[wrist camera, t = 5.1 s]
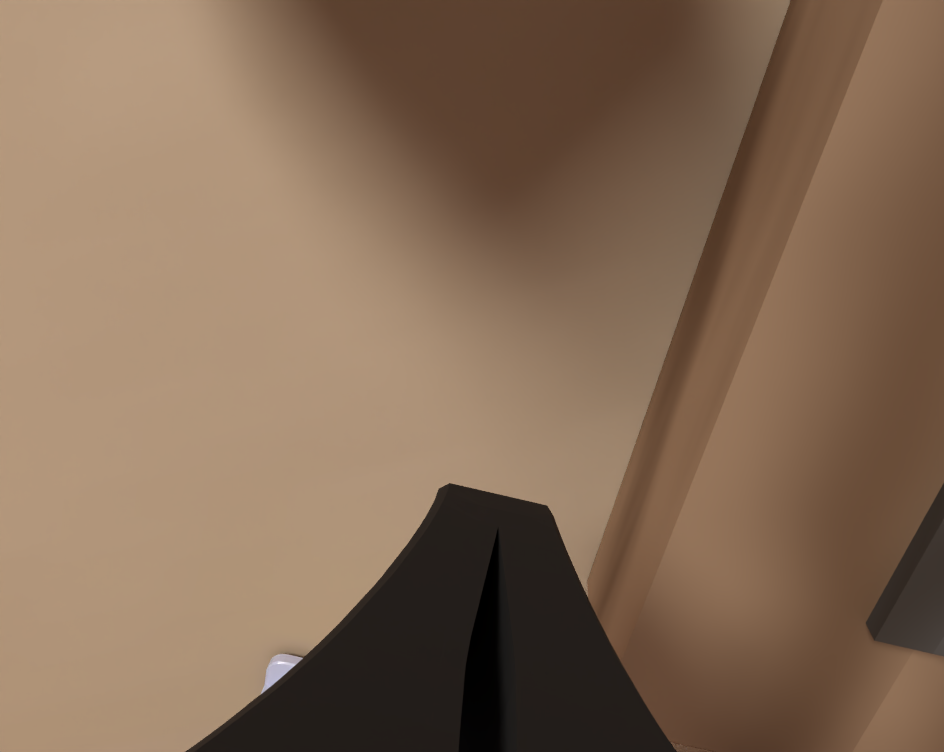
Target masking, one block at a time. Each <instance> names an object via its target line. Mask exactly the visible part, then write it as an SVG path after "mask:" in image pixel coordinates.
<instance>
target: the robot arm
mask: <svg viewBox="0 0 944 752" xmlns="http://www.w3.org/2000/svg"><path fill="white" fill-rule="evenodd" d="M186 752H676V750H675V749H674V747H673V746H672V744H671V743H670V742H669V740H668V739H667V737H666V736H665V734H664V732H663V731H662V729H661V728H660V726H659V725H658V723H657V722H656V720H655V718H654V717H653V715H652V714H651V712H650V710H649V709H648V707H647V706H646V704H645V702H644V701H643V699H642V697H641V696H640V694H639V692H638V691H637V689H636V687H635V685H634V684H633V682H632V680H631V679H630V677H629V675H628V673H627V672H626V670H625V668H624V667H623V665H622V663H621V661H620V659H619V658H618V656H617V654H616V652H615V650H614V648H613V646H612V645H611V643H610V641H609V639H608V637H607V635H606V633H605V631H604V629H603V627H602V625H601V623H600V621H599V619H598V617H597V615H596V613H595V611H594V609H593V607H592V605H591V603H590V601H589V599H588V597H587V595H586V593H585V591H584V589H583V587H582V584H581V582H580V580H579V578H578V575H577V573H576V571H575V569H574V566H573V564H572V562H571V560H570V557H569V555H568V552H567V550H566V548H565V545H564V543H563V540H562V538H561V535H560V533H559V530H558V527H557V525H556V522H555V519H554V516H553V515H552V513H551V511H550V510H549V508H548V506H546V505H542V504H538V503H533V502H529V501H525V500H520V499H516V498H512V497H507V496H503V495H499V494H494V493H490V492H486V491H481V490H477V489H472V488H468V487H464V486H459V485H455V484H451V483H449V484H447V485H445V486H443V487H442V488H440V489H439V490H438V493H437V496H436V498H435V501H434V503H433V505H432V507H431V508H430V510H429V512H428V514H427V516H426V517H425V519H424V520H423V522H422V524H421V525H420V527H419V528H418V530H417V531H416V533H415V534H414V535H413V537H412V538H411V540H410V541H409V543H408V544H407V545H406V547H405V548H404V549H403V550H402V552H401V553H400V554H399V556H398V557H397V558H396V559H395V561H394V562H393V563H392V564H391V566H390V567H389V568H388V570H387V571H386V572H385V573H384V575H383V576H382V577H381V578H380V579H379V581H378V582H377V583H376V584H375V585H374V586H373V588H372V589H371V590H370V591H369V592H368V593H367V594H366V595H365V596H364V597H363V598H362V599H361V600H360V602H359V603H358V604H357V605H356V606H355V607H354V608H353V609H352V610H351V611H350V612H349V613H348V615H347V616H346V617H345V618H344V619H343V620H342V621H341V622H340V623H339V624H338V625H337V626H336V627H335V628H334V629H333V630H332V631H331V632H330V633H329V634H328V635H327V636H326V637H325V638H324V639H323V640H322V641H321V642H320V643H319V644H318V645H317V646H316V647H315V648H314V649H313V650H311V651H310V652H309V653H308V654H307V655H306V656H305V657H304V658H301V657H297V656H293V655H288V654H279V655H275V656H274V657H273V658H271V661H270V663H269V665H268V668H267V671H266V678H265V685H264V687H263V690H262V692H261V695H259V696H258V697H257V698H256V699H254V700H253V701H252V702H251V703H249V704H248V705H247V706H246V707H244V708H243V709H242V710H241V711H239V712H238V713H237V714H236V715H234V716H233V717H232V718H231V719H229V720H228V721H227V722H226V723H224V724H223V725H222V726H220V727H219V728H218V729H216V730H215V731H214V732H212V733H211V734H210V735H208V736H207V737H205V738H204V739H203V740H201V741H200V742H199V743H197V744H196V745H194V746H193V747H192V748H190V749H189V750H187V751H186Z"/></svg>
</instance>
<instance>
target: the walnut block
mask: <svg viewBox="0 0 944 752" xmlns="http://www.w3.org/2000/svg"><path fill="white" fill-rule="evenodd" d="M587 583H588V599H589V601H590V603H591V605H592V607H593V609H594V611H595V613H596V615H597V617H598V619H599V621H600V623H601V625H602V627H603V629H604V631H605V633H606V635H607V637H608V639H609V641H610V643H611V645H612V646H613V648H614V650H615V652H616V654H617V656H618V658H619V659H620V661H621V663H622V665H623V667H624V668H625V670H626V672H627V673H628V675H629V677H630V679H631V680H632V682H633V684H634V685H635V687H636V689H637V691H638V692H639V694H640V696H641V697H642V699H643V701H644V702H645V704H646V706H647V707H648V709H649V710H650V712H651V714H652V715H653V717H654V718H655V720H656V722H657V723H658V725H659V726H660V728H661V729H662V731H663V732H664V734H665V736H666V737H667V739H668V740H669V742H673V743H678V744H682V745H687V746H691V747H695V748H700V749H704V750H709V751H713V752H944V0H791V1H790V4H789V7H788V10H787V13H786V16H785V19H784V21H783V24H782V27H781V30H780V33H779V36H778V39H777V41H776V44H775V47H774V50H773V53H772V56H771V59H770V61H769V64H768V67H767V70H766V73H765V76H764V79H763V81H762V84H761V87H760V90H759V93H758V96H757V99H756V101H755V104H754V107H753V110H752V113H751V116H750V119H749V121H748V124H747V127H746V130H745V133H744V136H743V138H742V141H741V144H740V147H739V150H738V153H737V156H736V158H735V161H734V164H733V167H732V170H731V173H730V176H729V178H728V181H727V184H726V187H725V190H724V193H723V196H722V198H721V201H720V204H719V207H718V210H717V213H716V216H715V218H714V221H713V224H712V227H711V230H710V233H709V236H708V238H707V241H706V244H705V247H704V250H703V253H702V256H701V258H700V261H699V264H698V267H697V270H696V273H695V275H694V278H693V281H692V284H691V287H690V290H689V293H688V295H687V298H686V301H685V304H684V307H683V310H682V313H681V315H680V318H679V321H678V324H677V327H676V330H675V333H674V335H673V338H672V341H671V344H670V347H669V350H668V353H667V355H666V358H665V361H664V364H663V367H662V370H661V373H660V375H659V378H658V381H657V384H656V387H655V390H654V393H653V395H652V398H651V401H650V404H649V407H648V410H647V412H646V415H645V418H644V421H643V424H642V427H641V430H640V432H639V435H638V438H637V441H636V444H635V447H634V450H633V452H632V455H631V458H630V461H629V464H628V467H627V470H626V472H625V475H624V478H623V481H622V484H621V487H620V490H619V492H618V495H617V498H616V501H615V504H614V507H613V510H612V512H611V515H610V518H609V521H608V524H607V527H606V529H605V532H604V535H603V538H602V541H601V544H600V547H599V549H598V552H597V555H596V558H595V561H594V564H593V567H592V569H591V572H590V575H589V578H588V581H587Z"/></svg>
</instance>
